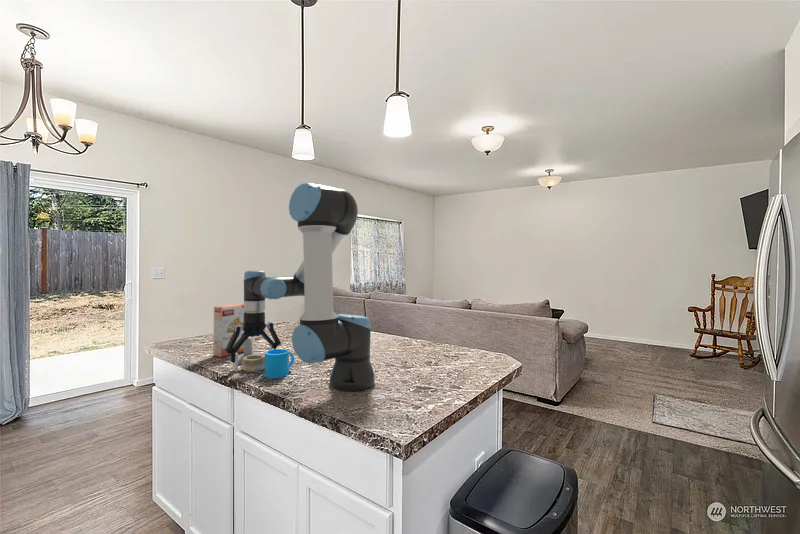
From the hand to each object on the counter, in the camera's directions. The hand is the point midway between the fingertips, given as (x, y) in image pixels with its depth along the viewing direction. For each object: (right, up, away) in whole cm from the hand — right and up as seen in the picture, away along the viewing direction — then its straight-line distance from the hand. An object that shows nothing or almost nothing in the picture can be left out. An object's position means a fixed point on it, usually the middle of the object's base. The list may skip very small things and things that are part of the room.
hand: (253, 367), depth 141 cm
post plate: (-7, 0, +12) cm, 14 cm away
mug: (+12, -1, -5) cm, 13 cm away
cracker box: (-18, 0, +20) cm, 27 cm away
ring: (0, 0, 0) cm, 0 cm away
